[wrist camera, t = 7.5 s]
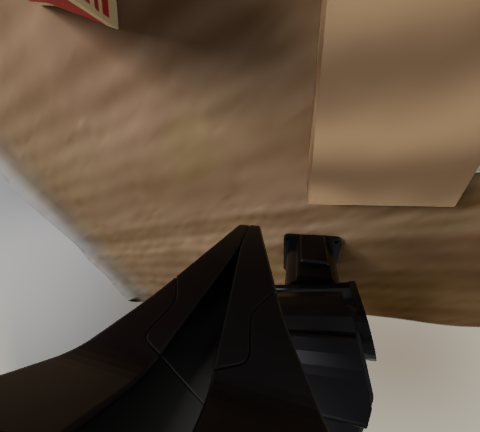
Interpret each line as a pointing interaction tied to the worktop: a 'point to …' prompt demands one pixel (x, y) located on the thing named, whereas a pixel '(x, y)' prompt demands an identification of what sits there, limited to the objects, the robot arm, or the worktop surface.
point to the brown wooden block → (395, 103)
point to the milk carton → (88, 9)
